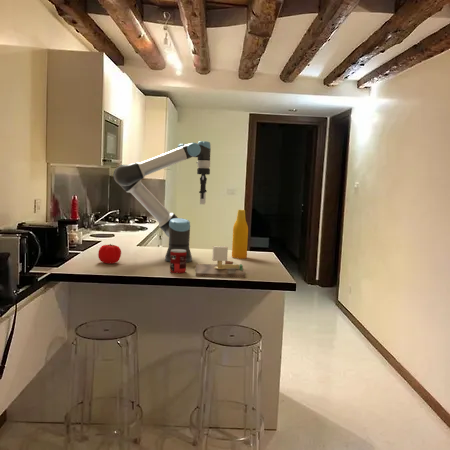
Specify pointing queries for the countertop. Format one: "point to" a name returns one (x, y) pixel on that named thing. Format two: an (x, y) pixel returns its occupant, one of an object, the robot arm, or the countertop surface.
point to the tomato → (109, 254)
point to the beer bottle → (240, 236)
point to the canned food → (178, 261)
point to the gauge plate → (219, 271)
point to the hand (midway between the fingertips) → (202, 203)
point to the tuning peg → (222, 257)
